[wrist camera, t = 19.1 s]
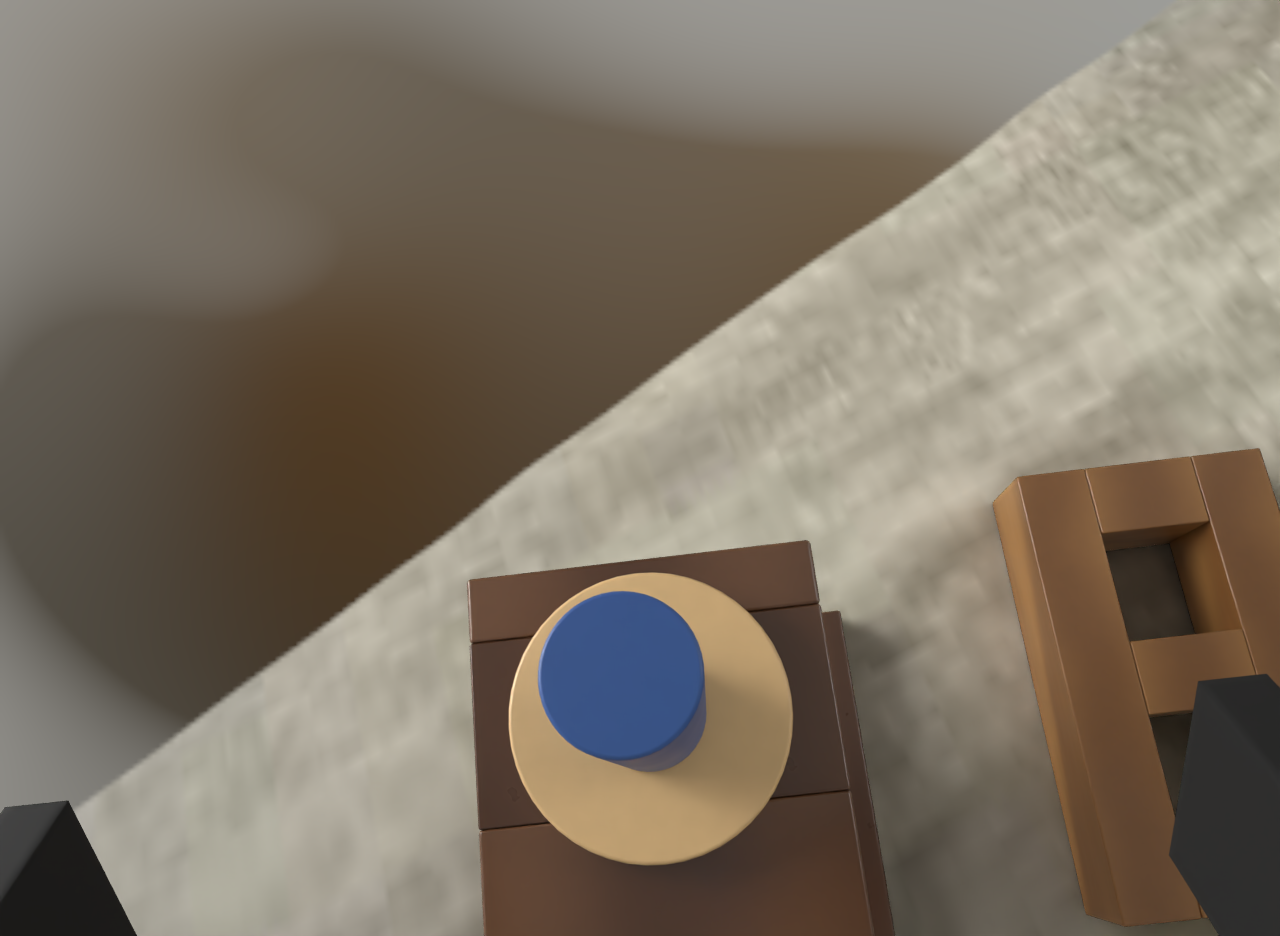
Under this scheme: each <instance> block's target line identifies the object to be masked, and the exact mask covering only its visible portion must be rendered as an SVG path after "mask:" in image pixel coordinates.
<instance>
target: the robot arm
mask: <svg viewBox="0 0 1280 936" xmlns="http://www.w3.org/2000/svg"><path fill="white" fill-rule="evenodd" d="M1169 856H1170V858H1171V859H1172V861H1173V863H1174V864H1175V866H1176V867H1177V869H1178V870H1179V872H1180V874H1181V875H1182V877H1183V878H1184V880H1185V882H1186V883H1187V885H1188V886H1189V888H1190V890H1191V891H1192V893H1193V894H1194V896H1195V898H1196V899H1197V901H1198V902H1199V904H1200V906H1201V907H1202V909H1203V910H1204V912H1205V914H1206V915H1207V917H1208V918H1209V920H1210V922H1211V923H1212V925H1213V926H1214V928H1215V930H1216V931H1217V933H1218V934H1219V936H1280V687H1279V686H1278V685H1277V684H1276V683H1275V682H1274V681H1273V680H1272V679H1271V678H1270V677H1269V675H1268V674H1259V675H1249V676H1240V677H1231V678H1221V679H1212V680H1202V681H1198V684H1197V690H1196V696H1195V702H1194V708H1193V714H1192V720H1191V726H1190V732H1189V738H1188V744H1187V750H1186V756H1185V762H1184V768H1183V774H1182V780H1181V786H1180V792H1179V798H1178V803H1177V809H1176V815H1175V821H1174V827H1173V833H1172V839H1171V845H1170V851H1169ZM0 936H137V935H136V933H135V931H134V929H133V927H132V925H131V923H130V921H129V919H128V917H127V915H126V913H125V911H124V909H123V907H122V905H121V904H120V902H119V900H118V898H117V896H116V894H115V892H114V890H113V888H112V886H111V884H110V882H109V880H108V878H107V876H106V874H105V872H104V870H103V868H102V866H101V864H100V862H99V860H98V858H97V856H96V854H95V852H94V850H93V848H92V847H91V845H90V843H89V841H88V839H87V837H86V835H85V833H84V831H83V829H82V827H81V825H80V823H79V821H78V819H77V817H76V815H75V813H74V811H73V809H72V807H71V805H70V803H69V801H60V802H51V803H42V804H32V805H22V806H13V807H5V808H4V809H3V811H2V812H1V813H0Z"/></svg>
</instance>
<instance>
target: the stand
mask: <svg viewBox="0 0 1280 936" xmlns="http://www.w3.org/2000/svg"><path fill="white" fill-rule="evenodd" d="M652 572H653V573H666V574H674V575H678V576H683V577H688V578H691V579H694V580H697V581H700V582H702V583H705V584H707V585H709V586H711V587H713V588H715V589H717V590H719V591H721V592H723V593H724V594H726V595H727V596H729V597H730V598H732V599H733V600H735V601H736V602H737V603H738V604H739V605H741V606H742V607H743V608H744V609H745V610H746V611H747V612H749V613H750V614H751V615H752V617H753V618H754V619H755V620H756V621H757V622H758V623H759V625H760V626H761V627H762V628H763V630H764V631H765V632H766V634H767V635H768V637H769V638H770V640H771V641H772V643H773V645H774V647H775V649H776V651H777V653H778V655H779V657H780V659H781V661H782V664H783V667H784V669H785V672H786V675H787V678H788V683H789V687H790V692H791V697H792V708H793V730H792V740H791V745H790V751H789V756H788V759H787V762H786V765H785V768H784V772H783V774H782V776H781V779H780V781H779V783H778V785H777V787H776V789H775V791H774V793H773V794H772V796H771V798H770V799H769V801H768V802H767V804H766V805H765V807H764V808H763V810H762V811H761V812H760V813H759V814H758V815H757V817H756V818H755V819H754V820H753V821H752V823H750V824H749V825H748V826H747V827H746V828H745V829H744V830H743V831H742V832H740V833H739V834H738V835H737V836H736V837H734V838H733V839H731V840H730V841H728V842H727V843H725V844H724V845H722V846H721V847H719V848H717V849H715V850H713V851H711V852H709V853H707V854H705V855H703V856H700V857H697V858H694V859H690V860H687V861H684V862H679V863H673V864H668V865H649V866H645V865H635V864H626V863H622V862H618V861H614V860H610V859H607V858H604V857H602V856H599V855H597V854H594V853H592V852H589V851H588V850H586V849H584V848H582V847H581V846H579V845H577V844H576V843H574V842H572V841H571V840H570V839H568V838H567V837H566V836H565V835H563V834H562V833H561V832H559V831H558V830H557V829H556V828H555V827H554V826H553V825H552V824H551V823H550V822H549V821H548V820H547V819H546V818H545V817H544V816H543V814H542V813H541V812H540V810H539V809H538V808H537V806H536V805H535V804H534V802H533V801H532V799H531V797H530V796H529V794H528V792H527V790H526V788H525V787H524V785H523V783H522V780H521V778H520V775H519V773H518V770H517V768H516V765H515V761H514V757H513V753H512V749H511V743H510V735H509V703H510V696H511V689H512V685H513V682H514V678H515V674H516V671H517V668H518V666H519V663H520V661H521V658H522V656H523V654H524V652H525V650H526V648H527V647H528V645H529V643H530V641H531V639H532V638H533V636H534V635H535V634H536V632H537V631H538V630H539V628H540V627H541V625H542V624H543V623H544V622H545V621H546V620H547V619H548V618H549V617H550V616H551V614H552V613H553V612H554V611H555V610H557V609H558V608H559V607H560V606H561V605H563V604H564V603H565V602H566V601H567V600H569V599H570V598H572V597H573V596H575V595H576V594H578V593H580V592H581V591H583V590H584V589H587V588H589V587H591V586H593V585H595V584H597V583H599V582H602V581H605V580H608V579H611V578H615V577H618V576H623V575H629V574H634V573H652ZM467 592H468V613H469V634H470V642H471V643H472V644H471V645H470V662H471V682H472V703H473V724H474V744H475V765H476V786H477V806H478V827H479V829H480V830H482V831H480V833H479V842H480V862H481V883H482V904H483V924H484V936H895V931H894V925H893V919H892V913H891V907H890V901H889V896H888V890H887V884H886V878H885V872H884V866H883V860H882V854H881V849H880V843H879V837H878V831H877V825H876V819H875V813H874V807H873V801H872V796H871V790H870V784H869V778H868V772H867V766H866V760H865V754H864V748H863V743H862V737H861V731H860V725H859V719H858V713H857V707H856V701H855V695H854V690H853V684H852V678H851V672H850V666H849V660H848V654H847V648H846V642H845V637H844V631H843V625H842V619H841V613H840V611H830V612H822V610H821V606H820V605H819V600H820V599H819V593H818V587H817V581H816V575H815V569H814V563H813V557H812V550H811V544H810V542H809V541H807V540H804V541H795V542H787V543H778V544H770V545H761V546H753V547H744V548H736V549H727V550H718V551H710V552H701V553H693V554H684V555H676V556H667V557H659V558H650V559H642V560H633V561H625V562H616V563H608V564H599V565H591V566H582V567H574V568H565V569H557V570H548V571H540V572H531V573H523V574H514V575H506V576H497V577H489V578H480V579H472V580H469V581H468V583H467Z"/></svg>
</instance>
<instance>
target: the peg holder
mask: <svg viewBox="0 0 1280 936" xmlns="http://www.w3.org/2000/svg"><path fill="white" fill-rule="evenodd" d="M993 508H994V512H995V516H996V521H997V525H998V530H999V534H1000V538H1001V543H1002V547H1003V552H1004V556H1005V560H1006V565H1007V569H1008V574H1009V578H1010V582H1011V587H1012V591H1013V596H1014V600H1015V604H1016V609H1017V613H1018V618H1019V622H1020V626H1021V631H1022V635H1023V639H1024V644H1025V648H1026V653H1027V657H1028V661H1029V666H1030V670H1031V675H1032V679H1033V683H1034V688H1035V692H1036V697H1037V701H1038V705H1039V710H1040V714H1041V719H1042V723H1043V727H1044V732H1045V736H1046V741H1047V745H1048V749H1049V754H1050V758H1051V763H1052V767H1053V771H1054V776H1055V780H1056V784H1057V789H1058V793H1059V798H1060V802H1061V806H1062V811H1063V815H1064V820H1065V824H1066V828H1067V833H1068V837H1069V842H1070V846H1071V850H1072V855H1073V859H1074V864H1075V868H1076V872H1077V877H1078V881H1079V886H1080V890H1081V894H1082V899H1083V903H1084V907H1085V912H1086V914H1087V915H1090V916H1093V917H1096V918H1099V919H1102V920H1105V921H1109V922H1112V923H1115V924H1118V925H1121V926H1124V927H1128V926H1138V925H1147V924H1157V923H1167V922H1176V921H1186V920H1195V919H1200V918H1208V917H1207V915H1206V914H1205V912H1204V910H1203V909H1202V907H1201V906H1200V904H1199V902H1198V901H1197V899H1196V898H1195V896H1194V894H1193V893H1192V891H1191V890H1190V888H1189V886H1188V885H1187V883H1186V882H1185V880H1184V878H1183V877H1182V875H1181V874H1180V872H1179V870H1178V869H1177V867H1176V866H1175V864H1174V863H1173V861H1172V859H1171V858H1170V856H1169V851H1170V845H1171V839H1172V833H1173V827H1174V821H1175V814H1174V810H1173V807H1172V803H1171V799H1170V795H1169V791H1168V788H1167V784H1166V780H1165V776H1164V772H1163V768H1162V765H1161V761H1160V757H1159V753H1158V749H1157V745H1156V742H1155V738H1154V734H1153V730H1152V726H1151V723H1150V719H1149V718H1150V717H1159V716H1168V715H1177V714H1186V713H1193V708H1194V702H1195V696H1196V690H1197V684H1198V681H1202V680H1212V679H1221V678H1231V677H1240V676H1249V675H1259V674H1268V675H1269V677H1270V678H1271V679H1272V680H1273V681H1274V682H1275V683H1276V684H1277V685H1278V686H1279V687H1280V510H1279V507H1278V504H1277V501H1276V498H1275V495H1274V492H1273V489H1272V486H1271V482H1270V479H1269V476H1268V473H1267V470H1266V467H1265V464H1264V461H1263V458H1262V455H1261V452H1260V449H1258V448H1256V449H1248V450H1240V451H1231V452H1223V453H1214V454H1206V455H1197V456H1192V457H1181V458H1172V459H1164V460H1155V461H1147V462H1139V463H1130V464H1122V465H1113V466H1105V467H1096V468H1088V469H1085V470H1084V469H1080V470H1071V471H1063V472H1054V473H1046V474H1037V475H1029V476H1021V477H1017V478H1016V479H1015V480H1014V481H1013V482H1012V483H1011V484H1010V485H1009V486H1008V487H1007V488H1006V489H1005V490H1004V491H1003V492H1002V493H1001V494H1000V495H999V496H998V497H997V499H996V500H995V501H994V502H993ZM1168 543H1170V546H1171V550H1172V553H1173V557H1174V560H1175V564H1176V567H1177V571H1178V575H1179V578H1180V582H1181V585H1182V589H1183V592H1184V596H1185V599H1186V603H1187V606H1188V610H1189V613H1190V617H1191V620H1192V624H1193V627H1194V631H1195V634H1191V635H1182V636H1173V637H1164V638H1155V639H1146V640H1138V641H1130V642H1129V638H1128V635H1127V631H1126V627H1125V623H1124V619H1123V616H1122V612H1121V608H1120V604H1119V600H1118V596H1117V593H1116V589H1115V585H1114V581H1113V577H1112V573H1111V570H1110V566H1109V562H1108V558H1107V554H1106V551H1110V550H1119V549H1127V548H1136V547H1145V546H1153V545H1162V544H1168Z"/></svg>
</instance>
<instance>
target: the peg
mask: <svg viewBox="0 0 1280 936" xmlns="http://www.w3.org/2000/svg"><path fill="white" fill-rule="evenodd" d="M792 730H793V708H792V697H791V692H790V687H789V683H788V678H787V675H786V672H785V669H784V667H783V664H782V661H781V659H780V657H779V655H778V653H777V651H776V649H775V647H774V645H773V643H772V641H771V640H770V638H769V637H768V635H767V634H766V632H765V631H764V630H763V628H762V627H761V626H760V625H759V623H758V622H757V621H756V620H755V619H754V618H753V617H752V615H751V614H750V613H749V612H747V611H746V610H745V609H744V608H743V607H742V606H741V605H739V604H738V603H737V602H736V601H735V600H733V599H732V598H730V597H729V596H727V595H726V594H724V593H723V592H721V591H719V590H717V589H715V588H713V587H711V586H709V585H707V584H705V583H702V582H700V581H697V580H694V579H691V578H688V577H683V576H678V575H674V574H666V573H653V572H652V573H634V574H629V575H623V576H618V577H615V578H611V579H608V580H605V581H602V582H599V583H597V584H595V585H593V586H591V587H589V588H587V589H584V590H583V591H581V592H580V593H578V594H576V595H575V596H573V597H572V598H570V599H569V600H567V601H566V602H565V603H564V604H563V605H561V606H560V607H559V608H558V609H557V610H555V611H554V612H553V613H552V614H551V616H550V617H549V618H548V619H547V620H546V621H545V622H544V623H543V624H542V625H541V627H540V628H539V630H538V631H537V632H536V634H535V635H534V636H533V638H532V639H531V641H530V643H529V645H528V647H527V648H526V650H525V652H524V654H523V656H522V658H521V661H520V663H519V666H518V668H517V671H516V674H515V678H514V682H513V685H512V689H511V696H510V703H509V735H510V743H511V749H512V753H513V757H514V761H515V765H516V768H517V770H518V773H519V775H520V778H521V780H522V783H523V785H524V787H525V788H526V790H527V792H528V794H529V796H530V797H531V799H532V801H533V802H534V804H535V805H536V806H537V808H538V809H539V810H540V812H541V813H542V814H543V816H544V817H545V818H546V819H547V820H548V821H549V822H550V823H551V824H552V825H553V826H554V827H555V828H556V829H557V830H558V831H559V832H561V833H562V834H563V835H565V836H566V837H567V838H568V839H570V840H571V841H572V842H574V843H576V844H577V845H579V846H581V847H582V848H584V849H586V850H588V851H589V852H592V853H594V854H597V855H599V856H602V857H604V858H607V859H610V860H614V861H618V862H622V863H626V864H635V865H645V866H649V865H668V864H673V863H679V862H684V861H687V860H690V859H694V858H697V857H700V856H703V855H705V854H707V853H709V852H711V851H713V850H715V849H717V848H719V847H721V846H722V845H724V844H725V843H727V842H728V841H730V840H731V839H733V838H734V837H736V836H737V835H738V834H739V833H740V832H742V831H743V830H744V829H745V828H746V827H747V826H748V825H749V824H750V823H752V821H753V820H754V819H755V818H756V817H757V815H758V814H759V813H760V812H761V811H762V810H763V808H764V807H765V805H766V804H767V802H768V801H769V799H770V798H771V796H772V794H773V793H774V791H775V789H776V787H777V785H778V783H779V781H780V779H781V776H782V774H783V772H784V768H785V765H786V762H787V759H788V756H789V751H790V745H791V740H792Z"/></svg>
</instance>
